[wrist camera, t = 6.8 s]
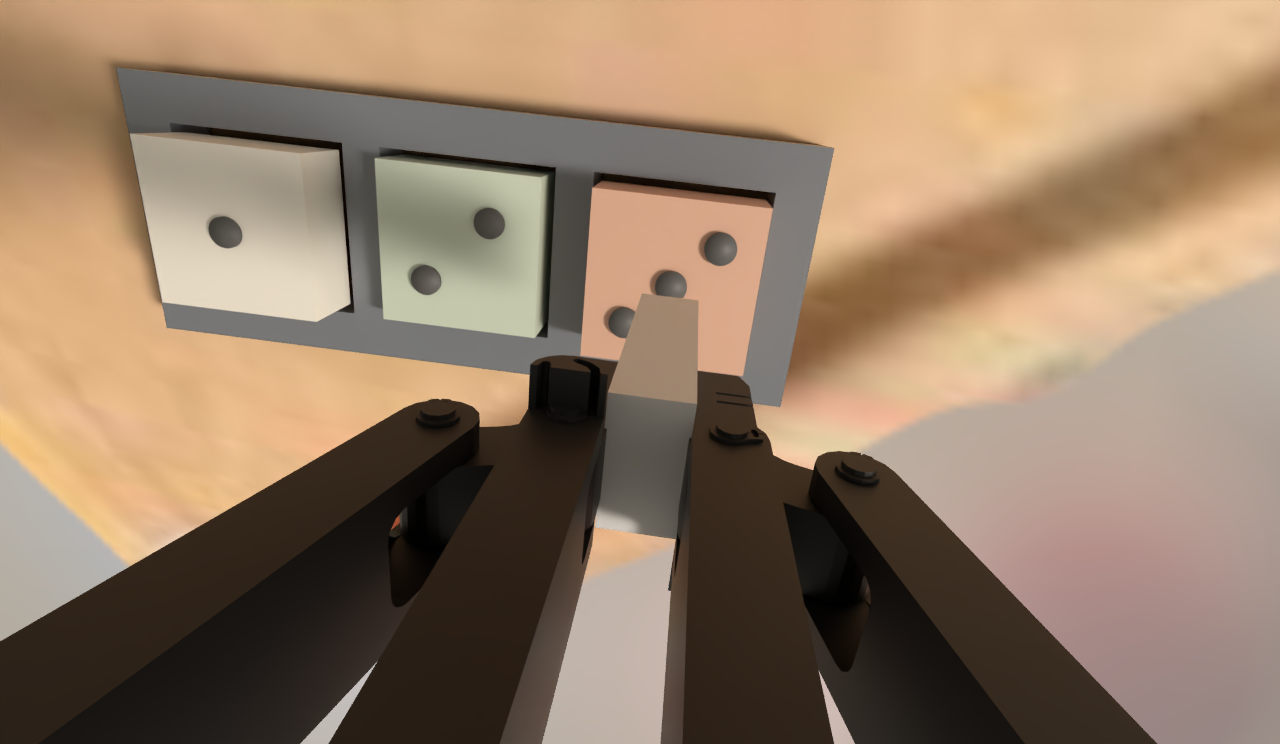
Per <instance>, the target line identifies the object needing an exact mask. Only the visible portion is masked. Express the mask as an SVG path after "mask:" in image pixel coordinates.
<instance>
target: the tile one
mask: <svg viewBox="0 0 1280 744" xmlns="http://www.w3.org/2000/svg"><path fill="white" fill-rule="evenodd" d="M130 137H131V143H132V148H133V153H134V158H135V163H136V168H137V173H138V179H139V184H140V189H141V194H142V199H143V204H144V209H145V214H146V220H147V225H148V230H149V235H150V240H151V245H152V250H153V256H154V261H155V266H156V271H157V276H158V281H159V286H160V291H161V297H162V302H164V303H172V304H180V305H188V306H196V307H203V308H211V309H219V310H227V311H235V312H243V313H251V314H258V315H266V316H274V317H282V318H290V319H298V320H305V321H313V322H317V321H319V320H321V319H323V318H325V317H327V316H329V315H330V314H332V313H334V312H336V311H338V310H340V309H342V308H343V307H345V306H347V305H349V304H351V302H350V289H349V276H348V263H347V249H346V236H345V223H344V210H343V197H342V184H341V171H340V158H339V150H335V149H327V148H318V147H310V146H301V145H292V144H284V143H275V142H266V141H258V140H249V139H241V138H232V137H223V136H215V135H206V134H198V133H189V132H168V133H134V134H130Z"/></svg>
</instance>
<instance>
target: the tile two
mask: <svg viewBox="0 0 1280 744" xmlns="http://www.w3.org/2000/svg"><path fill="white" fill-rule="evenodd" d="M375 175H376V193H377V211H378V229H379V247H380V265H381V283H382V301H383V318H384V319H388V320H396V321H403V322H411V323H419V324H427V325H435V326H443V327H451V328H459V329H467V330H474V331H482V332H490V333H498V334H506V335H514V336H522V337H530V338H535V337H536V336H537V334H538V333H539V332H540V330H541V329H542V328H543V326H544V325H545V323H546V322H547V321H548V319H549V299H550V279H551V259H552V239H553V218H554V198H555V178H556V172H554V171H545V170H537V169H528V168H520V167H511V166H502V165H494V164H485V163H476V162H468V161H459V160H451V159H442V158H433V157H425V156H416V155H407V154H403V155H395V156H387V157H379V158H375Z"/></svg>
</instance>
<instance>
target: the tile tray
mask: <svg viewBox="0 0 1280 744" xmlns="http://www.w3.org/2000/svg"><path fill="white" fill-rule="evenodd" d="M116 70H117V75H118V80H119V85H120V90H121V95H122V100H123V106H124V111H125V116H126V121H127V126H128V131H129V136H130V134H134V133H168V132H189V133H198V134H206V135H210V131H209V127H211V128H220V129H228V130H237V131H245V132H254V133H263V134H271V135H280V136H289V137H297V138H306V139H315V140H323V141H332V142H341V143H342V151H343V164H344V178H345V191H346V205H347V218H348V232H349V245H350V259H351V272H352V286H353V297H350V302H351V304H349V305H347V306H345V307H343V308H342V309H340V310H338V311H336V312H334V313H332V314H330V315H329V316H327V317H325V318H323V319H321V320H319V321H317V322H313V321H305V320H298V319H290V318H282V317H274V316H266V315H258V314H251V313H243V312H235V311H227V310H219V309H211V308H203V307H196V306H188V305H180V304H172V303H164V302H162V305H163V310H164V316H165V321H166V326H167V328H173V329H180V330H188V331H196V332H204V333H211V334H219V335H227V336H235V337H242V338H250V339H258V340H266V341H273V342H281V343H289V344H297V345H304V346H312V347H320V348H328V349H335V350H343V351H351V352H359V353H366V354H374V355H382V356H390V357H397V358H405V359H413V360H421V361H428V362H436V363H444V364H451V365H459V366H467V367H475V368H482V369H490V370H498V371H506V372H513V373H521V374H529V375H530V364H531V363H533V362H534V361H535V360H537V359H540V358H544V357H547V356H556V355H569V356H579V357H584V358H592V359H600V360H607V361H615V362H618V361H619V360H611V359H603V358H596V357H588V356H580V353H581V339H582V325H583V310H584V296H585V282H586V268H587V254H588V240H589V226H590V212H591V198H592V187H594V186H595V185H597V184H598V183H600V182H601V173H609V174H617V175H626V176H635V177H643V178H652V179H661V180H669V181H678V182H687V183H695V184H704V185H712V186H721V187H730V188H738V189H747V190H756V191H764V192H769V197H768V203H769V204H770V206H771V207H772V208H773V212H772V217H771V223H770V228H769V234H768V240H767V245H766V251H765V256H764V262H763V267H762V273H761V278H760V284H759V290H758V295H757V301H756V306H755V312H754V317H753V323H752V329H751V334H750V340H749V345H748V351H747V356H746V362H745V367H744V373H743V376H739V377H740V378H741V379H742V380H743V381H744V382H745V383H746V384H747V385H749V387H750V392H751V399H752V403H753V404H761V405H769V406H777V407H780V406H781V401H782V396H783V391H784V386H785V382H786V377H787V372H788V367H789V363H790V358H791V353H792V348H793V343H794V339H795V334H796V329H797V324H798V319H799V315H800V310H801V305H802V300H803V295H804V291H805V286H806V281H807V276H808V272H809V267H810V262H811V257H812V252H813V248H814V243H815V238H816V233H817V228H818V224H819V219H820V214H821V209H822V204H823V200H824V195H825V190H826V185H827V181H828V176H829V171H830V166H831V161H832V157H833V152H834V148H831V147H827V146H821V145H812V144H804V143H795V142H786V141H777V140H768V139H759V138H750V137H741V136H732V135H723V134H714V133H706V132H697V131H688V130H679V129H670V128H661V127H652V126H643V125H634V124H625V123H617V122H608V121H599V120H590V119H581V118H572V117H563V116H554V115H545V114H536V113H528V112H519V111H510V110H501V109H492V108H483V107H474V106H465V105H456V104H447V103H438V102H430V101H421V100H412V99H403V98H394V97H385V96H376V95H367V94H358V93H349V92H341V91H332V90H323V89H314V88H305V87H296V86H287V85H278V84H269V83H260V82H252V81H243V80H234V79H225V78H216V77H207V76H198V75H189V74H180V73H171V72H162V71H152V70H140V69H128V68H117V67H116ZM130 141H131V137H130ZM131 147H132V143H131ZM403 150H410V151H418V152H427V153H436V154H444V155H453V156H462V157H470V158H479V159H488V160H496V161H505V162H514V163H522V164H531V165H540V166H548V167H556V178H555V198H554V218H553V239H552V259H551V279H550V299H549V320H548V322H546V323H545V325H544V326H543V328H542V329H541V330H540V332H539V333H538V334H537V336H536V337H535V338H530V337H522V336H514V335H506V334H498V333H490V332H482V331H474V330H467V329H459V328H451V327H443V326H435V325H427V324H419V323H411V322H403V321H396V320H388V319H384V318H383V301H382V283H381V265H380V247H379V229H378V211H377V193H376V175H375V158H379V157H387V156H395V155H403ZM132 152H133V148H132ZM133 157H134V153H133ZM134 162H135V158H134ZM135 167H136V163H135ZM136 172H137V168H136ZM137 177H138V173H137ZM138 182H139V179H138ZM139 187H140V184H139ZM140 193H141V189H140ZM141 198H142V194H141ZM142 203H143V199H142ZM143 208H144V204H143ZM144 213H145V209H144ZM145 218H146V214H145ZM146 223H147V220H146ZM147 228H148V225H147ZM148 234H149V230H148ZM149 239H150V235H149ZM150 244H151V240H150ZM151 249H152V245H151ZM152 254H153V250H152ZM153 259H154V256H153ZM154 264H155V261H154ZM155 269H156V266H155ZM156 275H157V271H156ZM157 280H158V276H157ZM158 285H159V281H158ZM159 290H160V286H159ZM160 295H161V291H160ZM161 300H162V297H161ZM704 372H705V371H704ZM712 373H713V372H712ZM720 374H721V373H720ZM727 375H729V374H727ZM735 376H737V375H735Z"/></svg>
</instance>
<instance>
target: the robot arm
mask: <svg viewBox="0 0 1280 744" xmlns="http://www.w3.org/2000/svg"><path fill="white" fill-rule="evenodd" d="M479 424H480V419H479V412H478V411H477V410H476V409H475V408H473V407H472V406H470V405H467V404H465V403H462V402H456V401H451V400H450V399H441V400H439V399H431V400H429V401H425V402H420V403H415V404H413V405H410V406H408V407H406V408H403V409H402V410H400V411H398V412H397V413H395V414H393V415H391V416H390V417H388V418H386V419H384V420H383V421H381V422H379V423H377V424H376V425H374V426H372V427H371V428H369V429H367V430H365V431H364V432H362V433H360V434H358V435H357V436H355V437H353V438H352V439H350V440H348V441H346V442H345V443H343V444H341V445H339V446H338V447H336V448H334V449H332V450H331V451H329V452H327V453H326V454H324V455H322V456H320V457H319V458H317V459H315V460H313V461H312V462H310V463H308V464H307V465H305V466H303V467H301V468H300V469H298V470H296V471H294V472H293V473H291V474H289V475H287V476H286V477H284V478H282V479H281V480H279V481H277V482H275V483H274V484H272V485H270V486H268V487H267V488H265V489H263V490H262V491H260V492H258V493H256V494H255V495H253V496H251V497H249V498H248V499H246V500H244V501H242V502H241V503H239V504H237V505H236V506H234V507H232V508H230V509H229V510H227V511H225V512H223V513H222V514H220V515H218V516H217V517H215V518H213V519H211V520H210V521H208V522H206V523H204V524H203V525H201V526H199V527H197V528H196V529H194V530H192V531H191V532H189V533H187V534H185V535H184V536H182V537H180V538H178V539H177V540H175V541H173V542H172V543H170V544H168V545H166V546H165V547H163V548H161V549H159V550H158V551H156V552H154V553H152V554H151V555H149V556H147V557H146V558H144V559H142V560H140V561H139V562H137V563H135V564H133V565H132V566H130V567H128V568H127V569H125V570H123V571H121V572H120V573H118V574H116V575H114V576H113V577H111V578H109V579H107V580H106V581H104V582H102V583H101V584H99V585H97V586H96V587H94V588H92V589H90V590H89V591H87V592H85V593H83V594H82V595H80V596H79V597H76V598H75V599H73V600H71V601H69V602H68V603H66V604H64V605H62V606H61V607H59V608H57V609H56V610H54V611H52V612H51V613H49V614H47V615H45V616H44V617H42V618H40V619H38V620H37V621H35V622H33V623H31V624H30V625H28V626H26V627H25V628H23V629H21V630H19V631H18V632H16V633H14V634H12V635H11V636H9V637H7V638H6V639H4V640H2V641H0V744H300V743H301V742H302V741H303V740H304V739H305V738H306V737H307V736H308V735H309V734H310V733H311V731H312V730H313V729H314V728H315V727H316V726H317V725H318V724H319V723H320V722H321V721H322V719H324V718H325V717H326V716H327V714H328V713H329V712H330V711H331V710H332V709H333V708H334V707H335V706H336V705H337V704H338V703H339V702H340V701H341V700H342V698H343V697H344V696H345V695H346V694H347V693H348V692H349V691H350V690H351V689H352V688H353V687H354V686H355V685H356V684H357V682H358V681H359V680H360V679H361V678H362V677H363V676H364V675H365V674H366V673H367V672H368V671H369V670H370V669H371V668H372V667H373V665H374V664H375V663H376V662H377V661H378V662H377V664H376V665H375V667H374V668H373V670H372V672H371V674H370V675H369V677H368V678H367V680H366V682H365V684H364V685H363V687H362V689H361V690H360V692H359V694H358V695H357V697H356V699H355V700H354V702H353V704H352V706H351V707H350V709H349V710H348V712H347V714H346V716H345V717H344V719H343V720H342V722H341V724H340V725H339V727H338V729H337V730H336V732H335V734H334V736H333V737H332V739H331V741H330V742H329V744H542V740H543V736H544V732H545V728H546V725H547V721H548V716H549V712H550V709H551V705H552V701H553V697H554V693H555V689H556V685H557V681H558V677H559V673H560V669H561V665H562V661H563V657H564V653H565V649H566V646H567V642H568V638H569V634H570V630H571V626H572V622H573V618H574V614H575V610H576V606H577V602H578V598H579V594H580V590H581V586H582V582H583V578H584V574H585V571H586V567H587V563H588V559H589V555H590V551H591V547H592V540H593V530H594V520H595V516H596V523H595V528H602V529H609V530H616V531H623V532H630V533H637V534H644V535H651V536H658V537H665V538H672V539H676V542H675V549H674V555H673V562H672V568H671V575H670V581H669V588H668V590H669V591H671V599H670V614H669V630H668V644H667V658H666V673H665V689H664V702H663V718H662V732H661V744H834V742H833V737H832V732H831V727H830V723H829V718H828V714H827V708H826V704H825V699H824V694H823V689H822V685H821V680H820V675H819V671H820V673H821V675H822V677H823V679H824V681H825V683H826V685H827V688H828V689H829V692H830V693H831V696H832V698H833V700H834V702H835V704H836V706H837V708H838V710H839V712H840V714H841V716H842V718H843V720H844V722H845V724H846V726H847V728H848V730H849V732H850V734H851V736H852V738H853V740H854V742H855V744H1157V743H1156V742H1155V741H1154V740H1153V739H1152V738H1151V737H1150V736H1149V735H1148V734H1147V733H1146V732H1145V731H1144V730H1143V728H1141V727H1140V726H1139V724H1137V722H1136V721H1135V720H1134V719H1133V718H1132V717H1131V716H1130V715H1129V714H1128V713H1127V712H1126V711H1125V710H1124V709H1123V708H1122V707H1121V706H1120V705H1119V704H1118V703H1117V702H1116V701H1115V699H1113V697H1112V696H1111V695H1110V694H1109V693H1108V692H1107V691H1106V690H1105V689H1104V688H1103V687H1102V686H1101V685H1100V684H1099V683H1098V682H1097V681H1096V680H1095V679H1094V678H1093V677H1092V676H1091V675H1090V674H1089V673H1088V672H1087V671H1086V670H1085V669H1084V667H1083V666H1082V665H1081V664H1080V663H1079V662H1078V661H1077V660H1076V659H1075V658H1074V657H1073V656H1072V655H1071V654H1070V653H1069V652H1068V651H1067V650H1066V649H1065V648H1064V647H1063V646H1062V645H1061V644H1060V643H1059V642H1058V640H1057V639H1055V637H1054V636H1053V635H1052V634H1051V633H1050V632H1049V631H1048V630H1047V629H1046V628H1045V627H1044V626H1043V625H1042V624H1041V623H1040V622H1039V621H1038V620H1037V619H1036V618H1035V617H1034V616H1033V615H1032V614H1031V613H1030V611H1029V610H1028V609H1027V608H1026V607H1025V606H1023V604H1022V603H1021V602H1020V601H1019V600H1018V599H1017V598H1016V597H1015V596H1014V595H1013V594H1012V593H1011V592H1010V591H1009V590H1008V589H1007V588H1006V587H1005V586H1004V585H1003V584H1002V583H1001V582H1000V580H999V579H998V578H997V577H996V576H995V575H994V574H993V573H992V572H991V571H990V570H989V569H988V568H987V567H986V566H985V565H984V564H983V563H982V562H981V561H980V560H979V559H978V558H977V557H976V556H975V555H974V553H973V552H971V551H970V549H969V548H968V547H967V546H966V545H965V544H964V543H963V542H962V541H961V540H960V539H959V538H958V537H957V536H956V535H955V534H954V533H953V532H952V531H951V530H950V529H949V528H948V527H947V526H946V524H945V523H944V522H943V521H942V520H941V519H940V518H939V517H938V516H937V515H936V514H935V513H934V512H933V511H932V510H931V509H930V508H929V507H928V506H927V505H926V504H925V503H924V502H923V501H922V500H921V499H920V498H919V497H918V496H917V495H916V494H915V492H914V491H913V490H912V489H911V488H910V487H909V486H908V485H907V484H906V483H905V482H904V481H903V480H902V479H901V478H900V477H899V476H898V475H897V474H896V473H895V472H894V471H893V470H891V469H890V468H889V467H887V466H886V465H885V464H883V463H881V462H878V461H876V460H874V459H873V458H872V457H870V456H867V455H864V454H863V455H861V453H857V452H842V451H837V452H827V453H825V454H822V455H820V456H818V458H817V460H816V462H815V466H814V470H810V469H807V468H804V467H800V466H797V465H794V464H792V463H789V462H786V461H784V460H782V459H780V458H778V457H776V456H774V455H773V452H772V448H771V443H770V440H769V438H768V437H767V435H766V433H764V432H763V431H761V430H760V429H759V428H757V425H756V419H755V414H754V409H753V403H752V399H751V392H750V387H749V385H747V384H746V383H745V382H744V381H743V380H742V379H741V378H740V377H739V376H735V375H727V374H720V373H712V372H704V371H698V300H691V299H683V298H675V297H667V296H659V295H652V294H644V293H642V295H641V298H640V300H639V303H638V306H637V309H636V312H635V315H634V318H633V321H632V324H631V327H630V329H629V332H628V335H627V338H626V341H625V344H624V347H623V350H622V353H621V356H620V358H619V361H618V362H615V361H607V360H600V359H592V358H584V357H579V356H569V355H556V356H547V357H544V358H540V359H537V360H535V361H534V362H533V363H531V364H530V381H529V405H528V410H527V412H526V413H525V415H524V417H523V418H522V420H521V422H520V423H519V424H517V425H512V426H501V427H479ZM398 515H400V523H399V524H398V525H397V526H396V527H394V528H393V529H392V530H391V528H392V526H393V524H394V521H395V519H396V518H397V517H398ZM390 530H391V531H390ZM818 669H819V670H818Z"/></svg>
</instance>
